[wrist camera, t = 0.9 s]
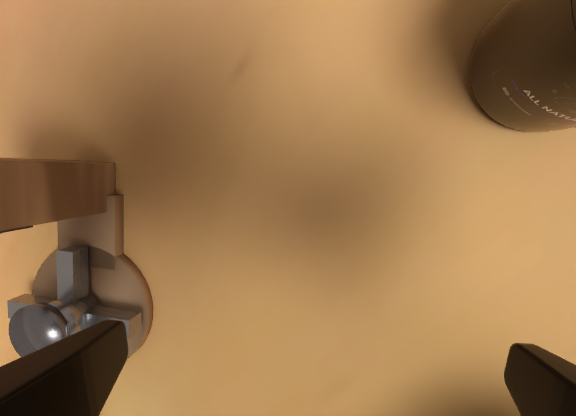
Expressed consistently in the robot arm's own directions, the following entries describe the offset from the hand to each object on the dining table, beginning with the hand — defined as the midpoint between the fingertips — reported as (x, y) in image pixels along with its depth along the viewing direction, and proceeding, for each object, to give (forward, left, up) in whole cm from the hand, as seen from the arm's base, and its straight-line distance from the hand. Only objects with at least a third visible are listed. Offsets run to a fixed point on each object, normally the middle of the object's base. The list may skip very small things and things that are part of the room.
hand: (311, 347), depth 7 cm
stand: (+8, +15, -12) cm, 21 cm away
